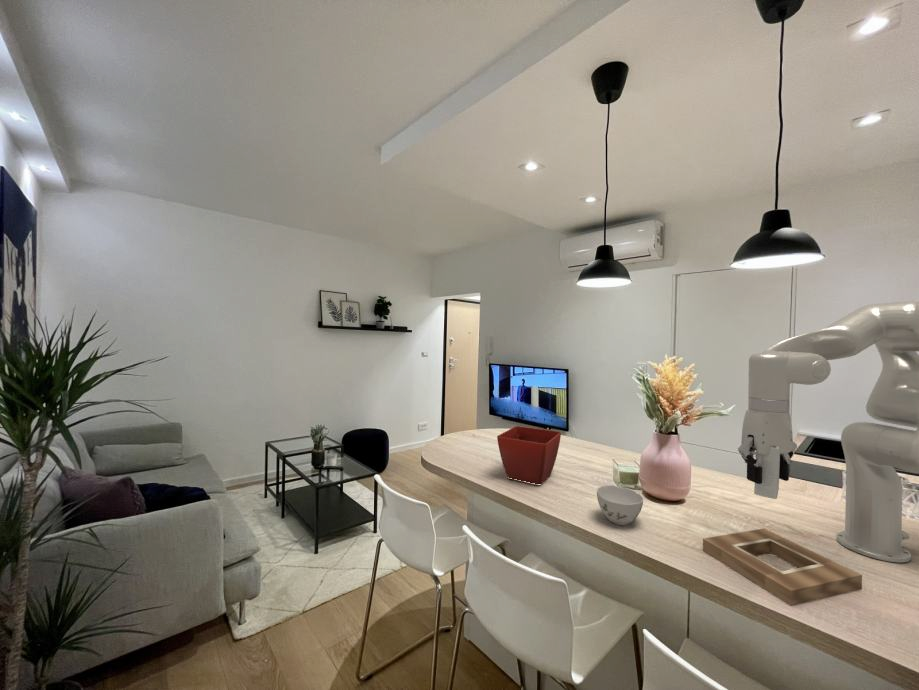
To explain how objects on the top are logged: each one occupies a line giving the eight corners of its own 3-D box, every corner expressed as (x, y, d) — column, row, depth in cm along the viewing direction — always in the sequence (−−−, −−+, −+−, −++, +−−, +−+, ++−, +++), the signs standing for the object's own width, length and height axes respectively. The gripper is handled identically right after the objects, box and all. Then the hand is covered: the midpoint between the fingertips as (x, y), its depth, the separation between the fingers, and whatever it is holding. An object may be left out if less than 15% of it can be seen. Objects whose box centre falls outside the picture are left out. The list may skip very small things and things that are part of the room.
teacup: (628, 536, 100) (629, 507, 100) (587, 518, 110) (587, 491, 110) (655, 519, 110) (655, 492, 109) (614, 504, 119) (615, 480, 119)
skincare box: (756, 487, 93) (756, 438, 92) (780, 492, 90) (780, 441, 89) (753, 495, 88) (754, 443, 88) (778, 500, 85) (779, 447, 85)
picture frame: (764, 539, 99) (764, 528, 99) (861, 588, 79) (862, 574, 79) (702, 550, 94) (702, 538, 94) (791, 605, 74) (791, 590, 74)
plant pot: (545, 491, 130) (545, 443, 129) (495, 481, 140) (495, 436, 139) (561, 474, 146) (561, 431, 146) (516, 466, 156) (516, 425, 156)
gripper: (780, 401, 94) (779, 471, 94) (723, 404, 90) (723, 477, 90) (814, 406, 87) (813, 483, 87) (754, 410, 83) (753, 490, 83)
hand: (767, 479), depth 89 cm, fingers closed on skincare box, 7 cm apart
